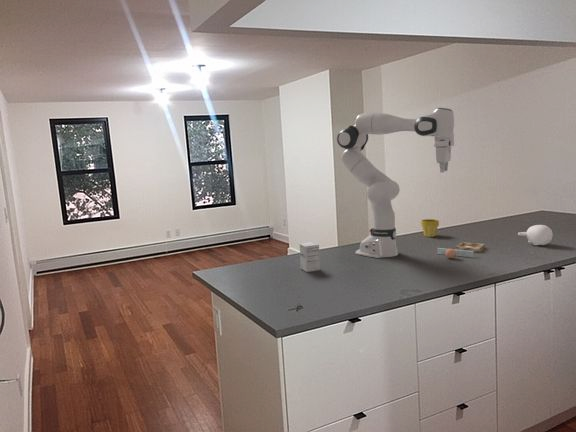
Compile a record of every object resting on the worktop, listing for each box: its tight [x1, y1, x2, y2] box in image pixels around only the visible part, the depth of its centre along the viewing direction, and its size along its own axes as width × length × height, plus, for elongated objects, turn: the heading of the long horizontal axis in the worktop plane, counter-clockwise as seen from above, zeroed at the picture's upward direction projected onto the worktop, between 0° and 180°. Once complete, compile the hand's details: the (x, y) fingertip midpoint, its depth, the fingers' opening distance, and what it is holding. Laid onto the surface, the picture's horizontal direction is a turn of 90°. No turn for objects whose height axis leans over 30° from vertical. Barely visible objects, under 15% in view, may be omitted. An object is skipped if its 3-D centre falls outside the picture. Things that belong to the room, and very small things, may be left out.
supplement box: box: [299, 241, 321, 273], centre depth 230 cm, size 7×7×13 cm
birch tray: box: [455, 241, 486, 254], centre depth 257 cm, size 12×12×2 cm
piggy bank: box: [517, 224, 554, 246], centre depth 259 cm, size 12×12×15 cm
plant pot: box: [420, 218, 440, 238], centre depth 294 cm, size 10×10×10 cm
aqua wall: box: [436, 247, 475, 259], centre depth 245 cm, size 18×1×3 cm, turn 54°
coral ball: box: [445, 248, 457, 260], centre depth 239 cm, size 5×5×5 cm
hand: (443, 171), depth 229 cm, fingers open, 8 cm apart
